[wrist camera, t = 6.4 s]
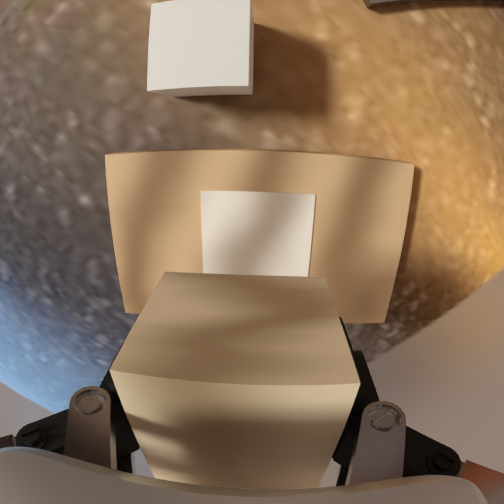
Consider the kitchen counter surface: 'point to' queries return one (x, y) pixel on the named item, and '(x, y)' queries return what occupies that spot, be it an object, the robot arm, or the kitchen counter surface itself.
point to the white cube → (201, 48)
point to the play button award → (397, 2)
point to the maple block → (237, 380)
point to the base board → (260, 220)
